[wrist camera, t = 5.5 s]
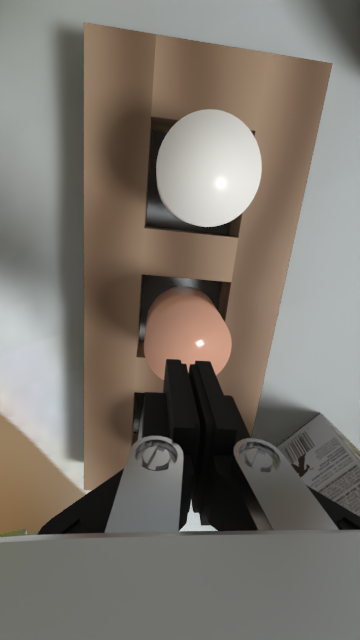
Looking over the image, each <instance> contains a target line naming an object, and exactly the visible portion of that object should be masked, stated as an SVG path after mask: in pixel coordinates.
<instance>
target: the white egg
mask: <svg viewBox="0 0 360 640" xmlns="http://www.w3.org/2000/svg"><path fill="white" fill-rule="evenodd" d="M261 172H262V161H261V154H260V150H259V146H258V144H257V141H256V139H255V137H254V135H253V134H252V132H251V131H250V129H249V128H248V127H247V126H246V125H245V124H244V123H243V122H242V121H241V120H240V119H238V118H237V117H235V116H234V115H232V114H230V113H227V112H225V111H221V110H215V109H206V110H200V111H196V112H193V113H191V114H188V115H187V116H185V117H183V118H182V119H180V120H179V121H178V122H177V123H175V125H174V126H173V127H172V128H171V129H170V130H169V132H168V133H167V134H166V136H165V138H164V140H163V141H162V144H161V146H160V149H159V153H158V157H157V164H156V176H157V188H158V192H159V196H160V198H161V200H162V202H163V204H164V206H165V207H166V209H167V210H168V211H169V212H170V213H171V214H172V215H173V216H174V217H176V218H177V219H179V220H181V221H183V222H186V223H190V224H193V225H196V226H202V227H214V226H219V225H223V224H225V223H228V222H230V221H232V220H234V219H235V218H236V217H238V216H239V215H240V214H241V213H243V212H244V211H245V210H246V208H247V207H248V206H249V205H250V203H251V202H252V200H253V199H254V196H255V194H256V192H257V190H258V187H259V184H260V179H261Z"/></svg>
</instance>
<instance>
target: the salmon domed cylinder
mask: <svg viewBox="0 0 360 640" xmlns="http://www.w3.org/2000/svg"><path fill="white" fill-rule="evenodd" d="M231 347H232V340H231V335H230V332H229V329H228V327H227V325H226V324H225V322H224V320H223V319H222V317H221V315H220V314H219V312H218V310H217V309H216V307H215V305H214V304H213V302H212V301H211V299H210V298H209V297H208V296H207V295H206V294H204V293H203V292H201V291H200V290H198V289H195V288H192V287H186V286H181V287H174V288H171V289H168V290H166V291H164V292H163V293H161V294H160V295H159V296H158V297H156V299H155V300H154V301H153V302H152V304H151V306H150V308H149V311H148V314H147V322H146V331H145V339H144V354H145V358H146V361H147V363H148V365H149V367H150V368H151V370H152V371H153V372H154V373H155V374H156V375H157V376H158V377H159V378H161V379H162V380H164V376H165V365H166V359H178V360H181V363H182V364H186V365H187V369H188V373H189V366H190V364H195V361H210V362H211V364H212V367H213V369H214V372H215V374H216V375H217V374H218V373H219V372H220V371H221V370H222V369H223V368H224V366H225V365H226V363H227V361H228V359H229V357H230V353H231Z"/></svg>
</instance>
